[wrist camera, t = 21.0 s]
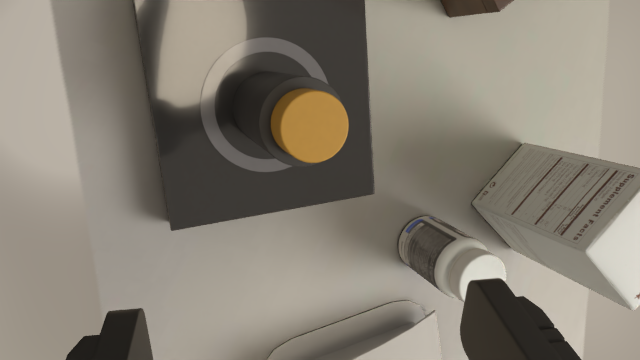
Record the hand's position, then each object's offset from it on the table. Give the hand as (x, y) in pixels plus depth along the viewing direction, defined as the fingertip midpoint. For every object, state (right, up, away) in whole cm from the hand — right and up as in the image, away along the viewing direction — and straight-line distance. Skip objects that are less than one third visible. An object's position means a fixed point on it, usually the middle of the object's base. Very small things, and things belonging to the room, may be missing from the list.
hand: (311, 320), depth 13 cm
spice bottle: (-3, +8, +22) cm, 24 cm away
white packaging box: (+18, +2, +33) cm, 38 cm away
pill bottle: (+9, -2, +31) cm, 32 cm away
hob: (-4, +9, +24) cm, 26 cm away
